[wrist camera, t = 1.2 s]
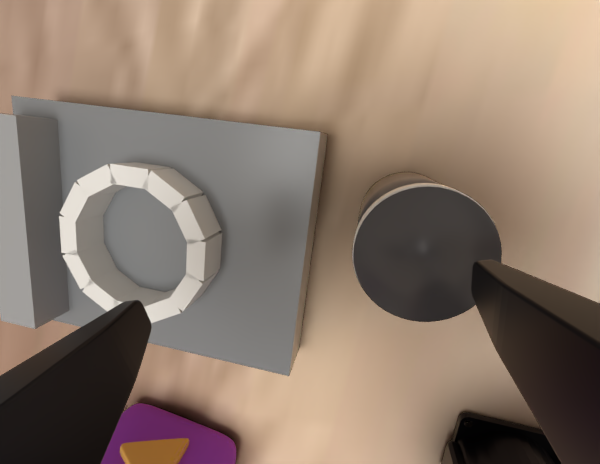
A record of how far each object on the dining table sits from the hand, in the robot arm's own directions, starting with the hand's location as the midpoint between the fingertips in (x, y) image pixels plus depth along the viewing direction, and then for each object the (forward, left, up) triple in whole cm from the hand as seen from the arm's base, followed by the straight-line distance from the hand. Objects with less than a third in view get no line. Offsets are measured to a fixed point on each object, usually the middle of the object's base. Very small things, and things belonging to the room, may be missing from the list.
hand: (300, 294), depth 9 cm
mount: (+10, +3, -12) cm, 16 cm away
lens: (-4, 0, -12) cm, 12 cm away
